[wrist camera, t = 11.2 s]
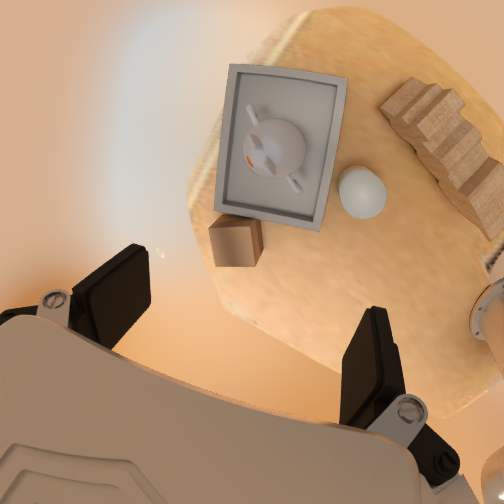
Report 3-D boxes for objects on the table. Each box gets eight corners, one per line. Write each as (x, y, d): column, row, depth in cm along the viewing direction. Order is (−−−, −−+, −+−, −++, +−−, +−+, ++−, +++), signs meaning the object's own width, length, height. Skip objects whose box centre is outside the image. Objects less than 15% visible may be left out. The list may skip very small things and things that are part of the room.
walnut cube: (259, 212, 35) (250, 226, 31) (263, 248, 38) (255, 266, 33) (222, 214, 37) (208, 228, 32) (228, 249, 39) (215, 266, 34)
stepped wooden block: (403, 80, 24) (434, 65, 15) (482, 187, 26) (524, 211, 17) (374, 109, 27) (396, 102, 18) (456, 213, 29) (493, 244, 20)
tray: (346, 82, 26) (347, 79, 24) (319, 225, 34) (319, 232, 32) (235, 67, 28) (229, 63, 26) (219, 205, 36) (213, 210, 34)
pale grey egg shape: (381, 171, 29) (391, 179, 25) (372, 210, 32) (379, 224, 27) (341, 160, 30) (345, 166, 26) (333, 200, 32) (335, 213, 28)
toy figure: (235, 120, 30) (191, 120, 20) (280, 94, 28) (258, 77, 17) (280, 196, 33) (259, 233, 23) (326, 173, 31) (329, 200, 20)
